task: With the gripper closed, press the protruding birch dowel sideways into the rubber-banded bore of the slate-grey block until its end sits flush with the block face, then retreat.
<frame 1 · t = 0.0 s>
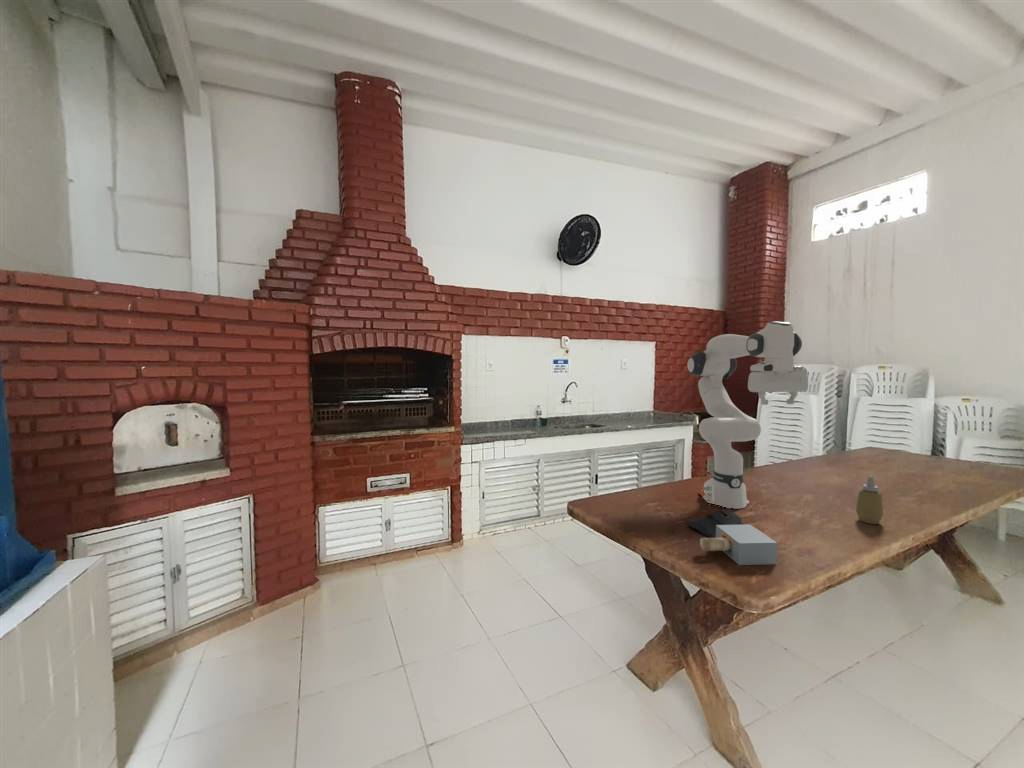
hand: (777, 404, 147), 48 cm above the table, fingers open, 8 cm apart
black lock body: (715, 528, 156), on the table
dowel peg: (720, 544, 134), point 4 cm above the table, slide at 0.0 cm
squeeze bottle: (868, 522, 160), on the table
socket block: (744, 553, 134), on the table
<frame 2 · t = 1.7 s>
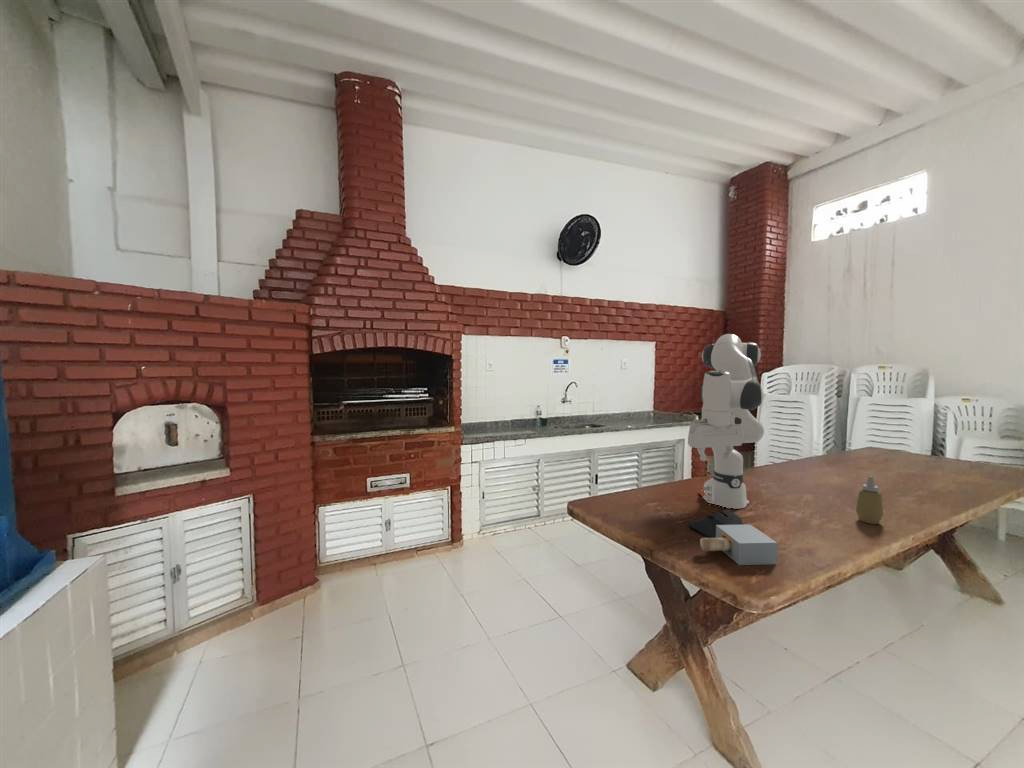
hand: (715, 459, 136), 31 cm above the table, fingers open, 8 cm apart
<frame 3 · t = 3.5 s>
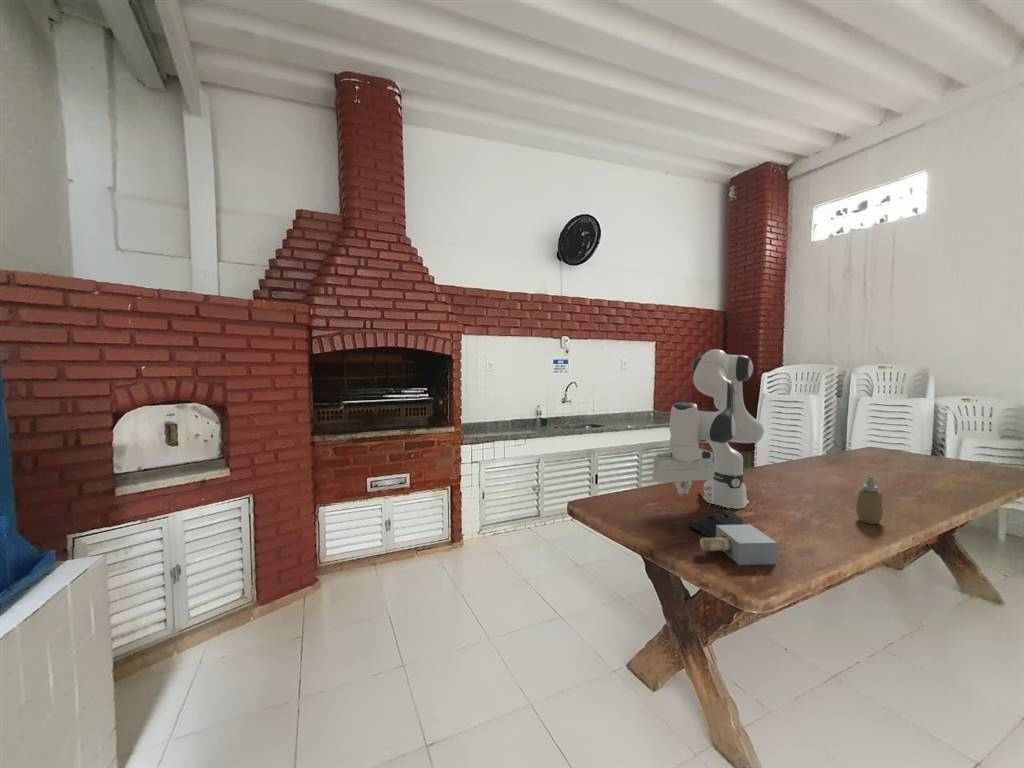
hand: (682, 493, 133), 21 cm above the table, fingers closed
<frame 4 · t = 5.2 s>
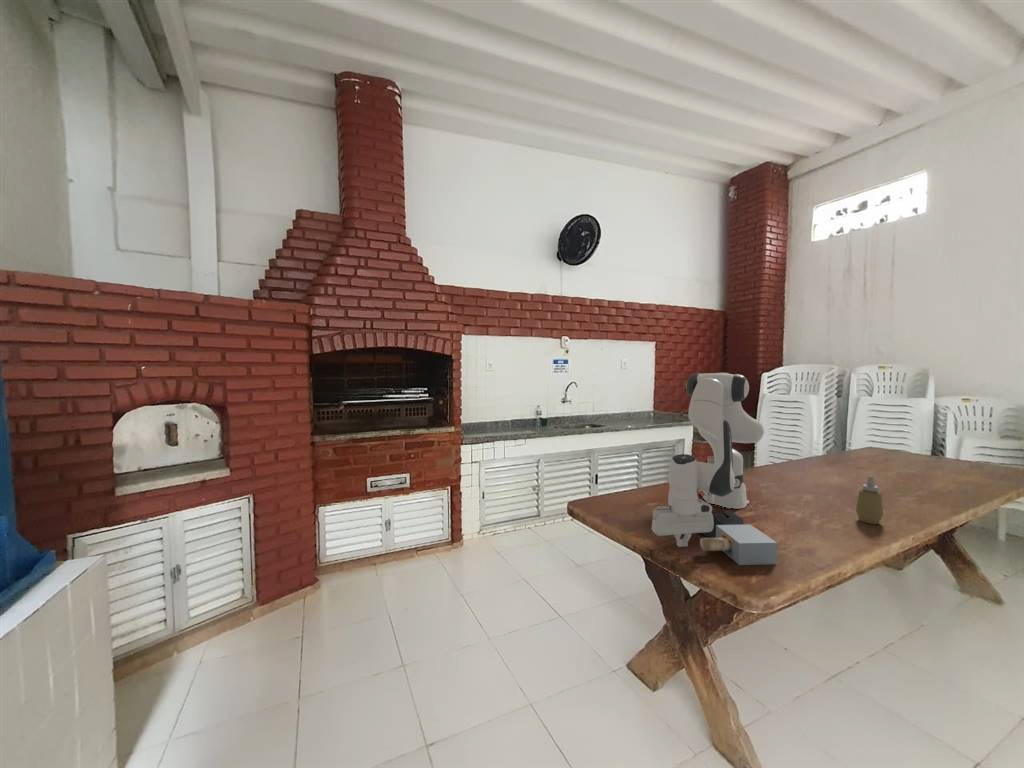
hand: (682, 545, 134), 3 cm above the table, fingers closed
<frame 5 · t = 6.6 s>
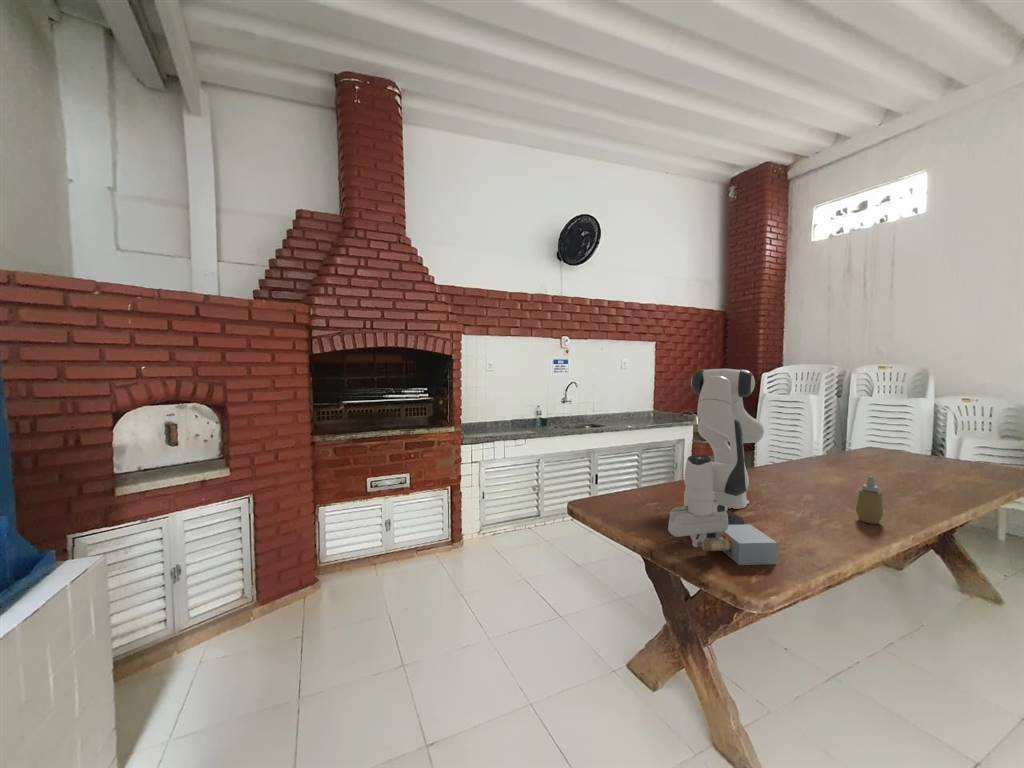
hand: (697, 545, 134), 3 cm above the table, fingers closed
dowel peg: (722, 544, 134), point 4 cm above the table, slide at 0.4 cm, touching gripper
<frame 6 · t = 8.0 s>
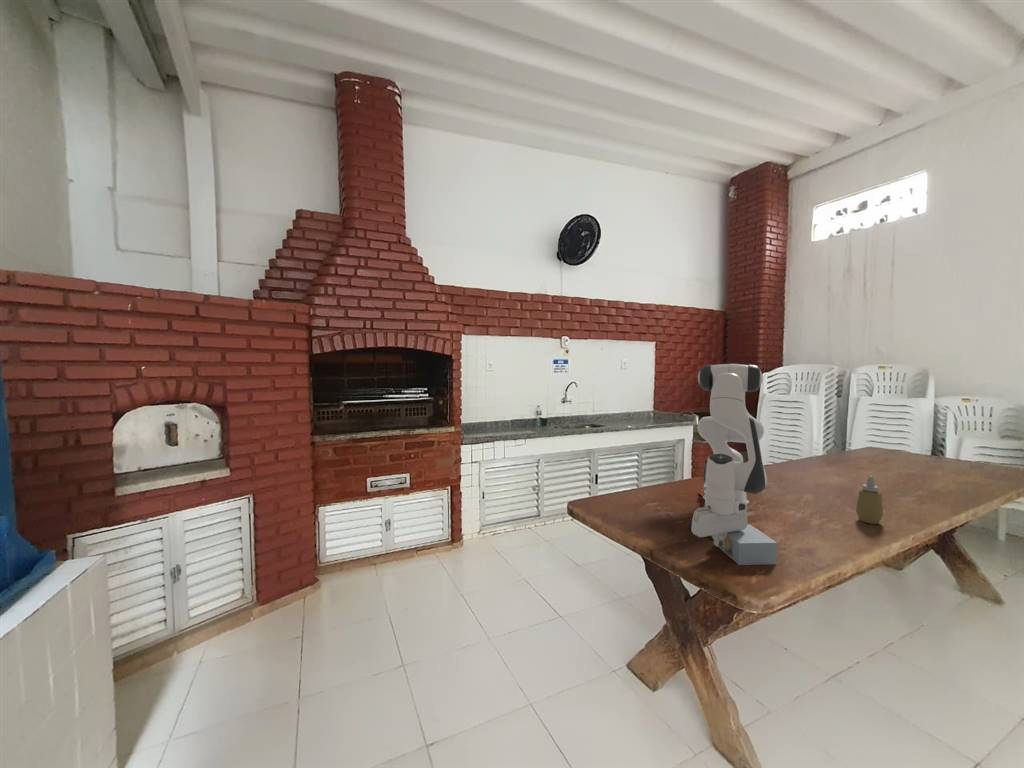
hand: (718, 545, 134), 3 cm above the table, fingers closed
dowel peg: (742, 543, 134), point 3 cm above the table, slide at 7.3 cm, touching gripper
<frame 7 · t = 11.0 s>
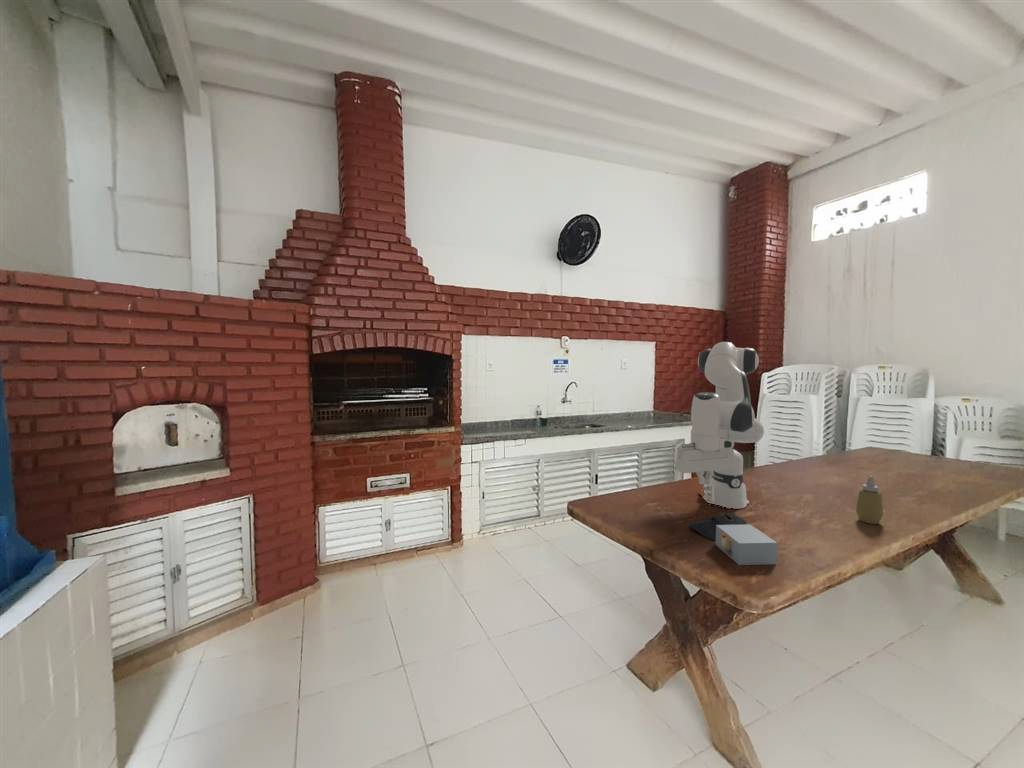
hand: (704, 483, 133), 24 cm above the table, fingers closed
dowel peg: (742, 543, 134), point 4 cm above the table, slide at 7.3 cm
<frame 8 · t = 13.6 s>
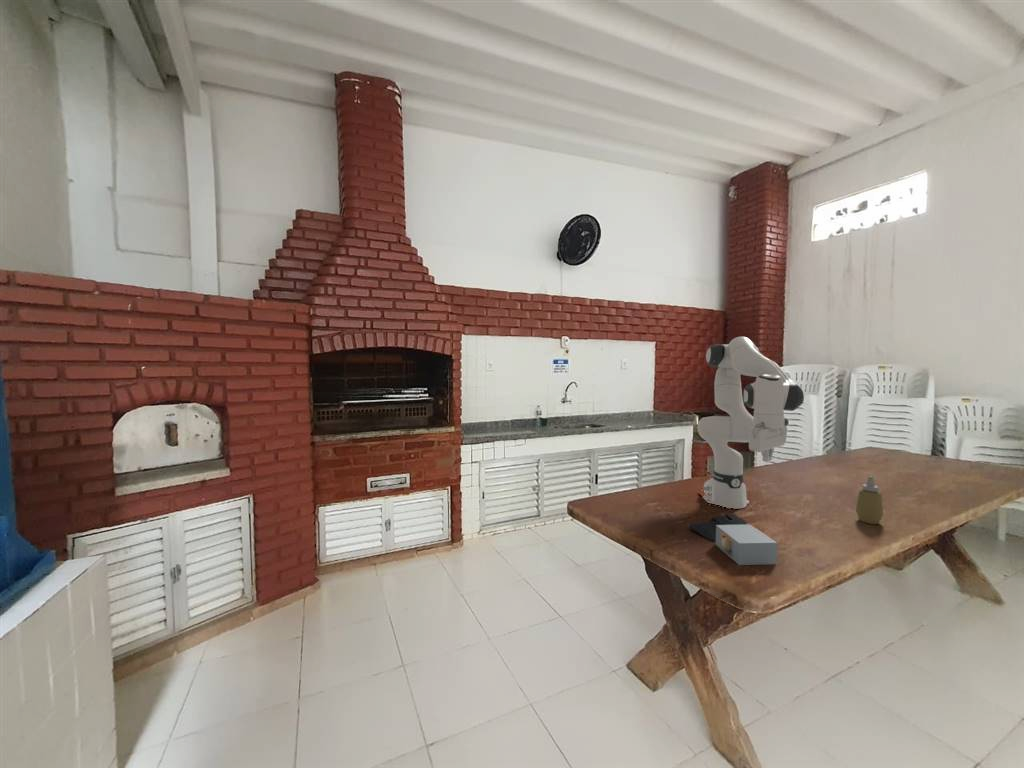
hand: (767, 460, 141), 29 cm above the table, fingers closed
at the end: dowel peg slide at 7.3 cm; dowel peg touching nothing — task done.
